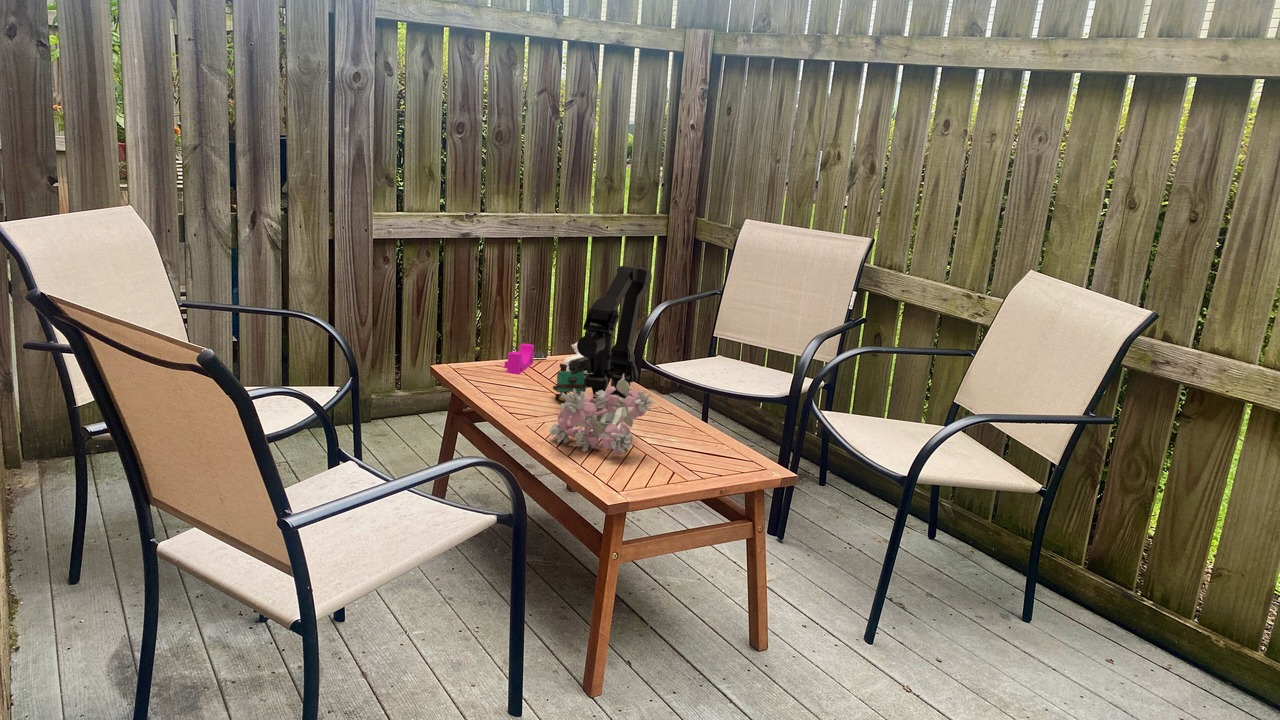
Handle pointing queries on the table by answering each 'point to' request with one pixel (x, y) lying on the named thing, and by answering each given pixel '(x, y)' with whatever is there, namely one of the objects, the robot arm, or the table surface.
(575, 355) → the white tied sack
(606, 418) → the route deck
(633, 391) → the flower
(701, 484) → the table surface
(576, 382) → the binoculars
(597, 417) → the walnut block
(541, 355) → the car cutout
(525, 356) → the toy block
